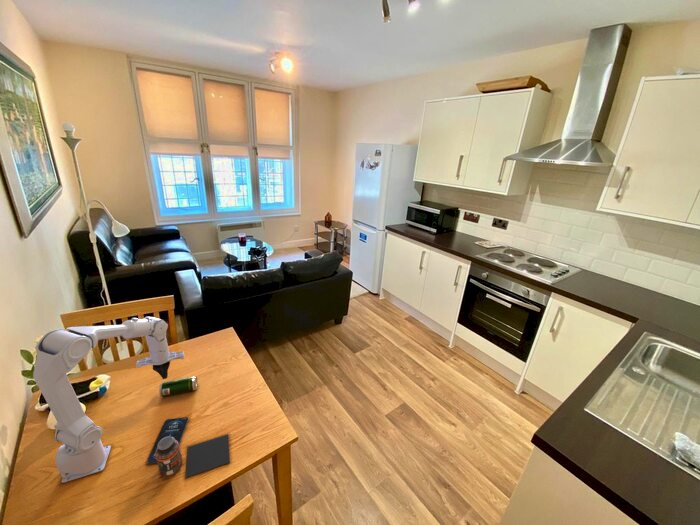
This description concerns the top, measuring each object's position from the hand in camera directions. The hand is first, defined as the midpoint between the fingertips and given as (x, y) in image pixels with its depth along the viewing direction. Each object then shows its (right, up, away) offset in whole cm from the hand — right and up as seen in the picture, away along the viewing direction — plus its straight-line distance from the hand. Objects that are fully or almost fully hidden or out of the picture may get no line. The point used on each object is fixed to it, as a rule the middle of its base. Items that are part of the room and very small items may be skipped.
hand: (165, 376), depth 108 cm
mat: (+25, -18, -17) cm, 35 cm away
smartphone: (+10, -15, -13) cm, 23 cm away
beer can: (-3, -6, +1) cm, 6 cm away
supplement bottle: (+16, -19, -21) cm, 32 cm away
